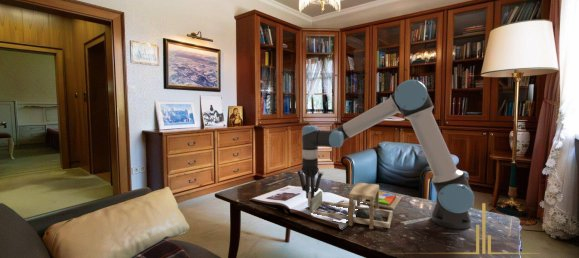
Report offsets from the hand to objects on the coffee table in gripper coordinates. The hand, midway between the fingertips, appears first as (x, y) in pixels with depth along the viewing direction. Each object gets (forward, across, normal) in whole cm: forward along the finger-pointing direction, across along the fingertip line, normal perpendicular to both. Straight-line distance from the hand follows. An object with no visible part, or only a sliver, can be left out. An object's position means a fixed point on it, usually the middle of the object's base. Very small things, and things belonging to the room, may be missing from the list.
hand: (310, 205), depth 137 cm
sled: (+2, -20, 0) cm, 20 cm away
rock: (+3, -28, +1) cm, 28 cm away
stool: (+3, -26, 0) cm, 26 cm away
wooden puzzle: (+4, -30, -27) cm, 41 cm away
